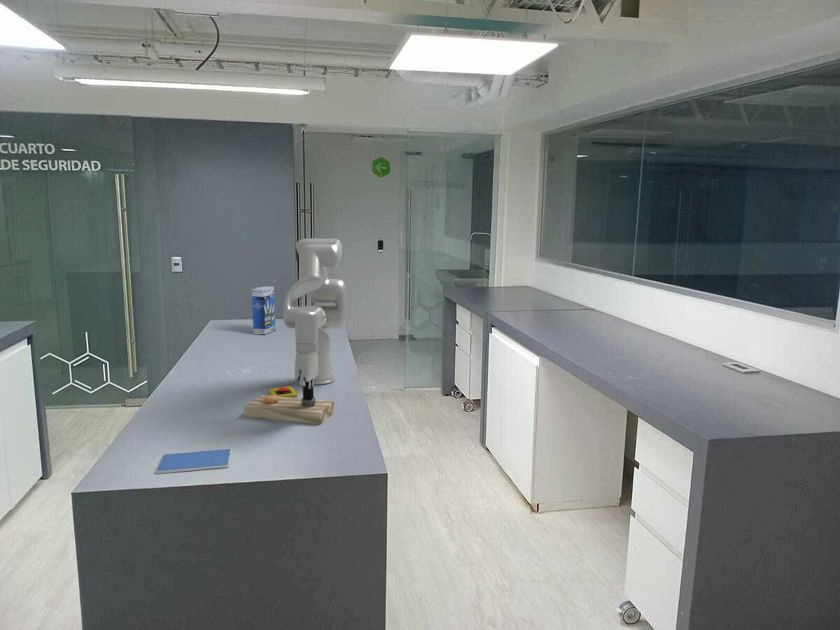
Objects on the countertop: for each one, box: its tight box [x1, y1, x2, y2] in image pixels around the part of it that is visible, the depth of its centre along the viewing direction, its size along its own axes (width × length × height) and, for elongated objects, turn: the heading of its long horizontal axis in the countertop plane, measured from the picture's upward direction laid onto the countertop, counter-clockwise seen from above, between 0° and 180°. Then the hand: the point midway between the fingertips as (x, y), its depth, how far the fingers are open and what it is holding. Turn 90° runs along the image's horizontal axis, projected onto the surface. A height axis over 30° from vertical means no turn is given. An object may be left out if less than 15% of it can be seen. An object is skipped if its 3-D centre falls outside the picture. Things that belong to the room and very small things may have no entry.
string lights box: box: [251, 285, 276, 335], centre depth 343 cm, size 13×8×26 cm, turn 167°
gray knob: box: [300, 396, 317, 407], centre depth 209 cm, size 5×5×6 cm
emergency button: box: [266, 386, 299, 398], centre depth 229 cm, size 9×4×15 cm
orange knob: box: [264, 395, 278, 404], centre depth 212 cm, size 5×5×6 cm
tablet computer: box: [154, 448, 233, 475], centre depth 172 cm, size 19×13×1 cm, turn 103°
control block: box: [243, 394, 335, 425], centre depth 211 cm, size 12×28×4 cm, turn 77°
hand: (308, 398), depth 208 cm, fingers closed
